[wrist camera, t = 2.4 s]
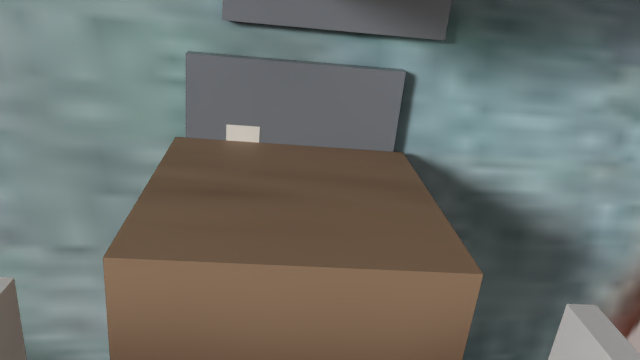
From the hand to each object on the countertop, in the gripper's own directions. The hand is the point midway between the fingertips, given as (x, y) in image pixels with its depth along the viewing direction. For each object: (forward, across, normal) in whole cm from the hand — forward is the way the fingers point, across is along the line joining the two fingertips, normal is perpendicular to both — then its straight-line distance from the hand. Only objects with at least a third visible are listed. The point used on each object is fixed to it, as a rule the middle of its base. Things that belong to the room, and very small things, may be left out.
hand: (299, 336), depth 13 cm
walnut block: (+5, 0, 0) cm, 5 cm away
